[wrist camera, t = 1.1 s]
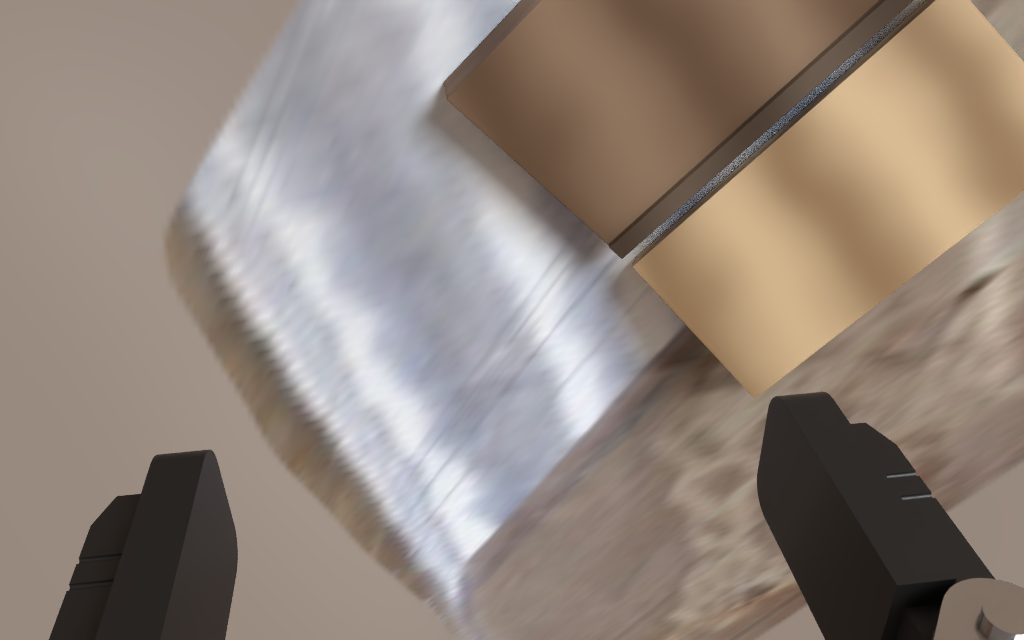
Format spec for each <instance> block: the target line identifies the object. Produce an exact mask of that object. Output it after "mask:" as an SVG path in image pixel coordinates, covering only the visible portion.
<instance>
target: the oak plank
mask: <svg viewBox="0 0 1024 640" xmlns="http://www.w3.org/2000/svg"><path fill="white" fill-rule="evenodd" d="M1023 191H1024V62H1023V61H1022V60H1021V59H1020V57H1019V56H1018V55H1017V54H1016V53H1015V52H1014V51H1013V49H1012V48H1011V47H1010V46H1009V45H1008V44H1007V43H1006V41H1005V40H1004V39H1003V38H1002V37H1001V36H1000V35H999V33H998V32H997V31H996V30H995V29H994V28H993V26H992V25H991V24H990V23H989V22H988V21H987V20H986V18H985V17H984V16H983V15H982V14H981V13H980V12H979V10H978V9H977V8H976V7H975V6H974V5H973V4H972V2H971V1H970V0H927V1H926V2H924V3H923V4H922V5H921V6H920V7H919V8H918V9H917V10H915V11H914V12H913V13H912V14H911V15H910V16H909V17H907V18H906V19H905V20H904V21H903V22H902V23H901V24H900V25H898V26H897V27H896V28H895V29H894V30H893V31H892V32H890V33H889V34H888V35H887V36H886V37H885V38H884V39H883V40H881V41H880V42H879V43H878V44H877V45H876V46H875V47H873V48H872V49H871V50H870V51H869V52H868V53H867V54H866V55H864V56H863V57H862V58H861V59H860V60H859V61H858V62H856V63H855V64H854V65H853V66H852V67H851V68H850V69H849V70H847V71H846V72H845V73H844V74H843V75H842V76H841V77H839V78H838V79H837V80H836V81H835V82H834V83H833V84H832V85H830V86H829V87H828V88H827V89H826V90H825V91H824V92H822V93H821V94H820V95H819V96H818V97H817V98H816V99H814V100H813V101H812V102H811V103H810V104H809V105H808V106H807V107H805V108H804V109H803V110H802V111H801V112H800V113H799V114H797V115H796V116H795V117H794V118H793V119H792V120H791V121H790V122H788V123H787V124H786V125H785V126H784V127H783V128H782V129H780V130H779V131H778V132H777V133H776V134H775V135H774V136H773V137H771V138H770V139H769V140H768V141H767V142H766V143H765V144H763V145H762V146H761V147H760V148H759V149H758V150H757V151H756V152H754V153H753V154H752V155H751V156H750V157H749V158H748V159H746V160H745V161H744V162H743V163H742V164H741V165H740V166H739V167H737V168H736V169H735V170H734V171H733V172H732V173H731V174H729V175H728V176H727V177H726V178H725V179H724V180H723V181H722V182H720V183H719V184H718V185H717V186H716V187H715V188H714V189H712V190H711V191H710V192H709V193H708V194H707V195H706V196H705V197H703V198H702V199H701V200H700V201H699V202H698V203H697V204H695V205H694V206H693V207H692V208H691V209H690V210H689V211H688V212H686V213H685V214H684V215H683V216H682V217H681V218H680V219H678V220H677V221H676V222H675V223H674V224H673V225H672V226H671V227H669V228H668V229H667V230H666V231H665V232H664V233H663V234H661V235H660V236H659V237H658V238H657V239H656V240H655V241H653V242H652V243H651V244H650V245H649V246H648V247H647V248H646V249H644V250H643V251H642V252H641V253H640V254H639V255H638V256H636V257H635V260H634V263H633V268H634V269H635V270H636V271H637V272H638V273H639V275H640V276H641V277H642V278H643V279H644V280H645V281H646V282H647V283H648V284H649V285H650V286H651V287H652V289H653V290H654V291H655V292H656V293H657V294H658V295H659V296H660V297H661V298H662V299H663V300H664V301H665V303H666V304H667V305H668V306H669V307H670V308H671V309H672V310H673V311H674V312H675V313H676V314H677V316H678V317H679V318H680V319H681V320H682V321H683V322H684V323H685V324H686V325H687V326H688V327H689V328H690V330H691V331H692V332H693V333H694V334H695V335H696V336H697V337H698V338H699V339H700V340H701V341H702V342H703V344H704V345H705V346H706V347H707V348H708V349H709V350H710V351H711V352H712V353H713V354H714V355H715V356H716V358H717V359H718V360H719V361H720V362H721V363H722V364H723V365H724V366H725V367H726V368H727V369H728V370H729V372H730V373H731V374H732V375H733V376H734V377H735V378H736V379H737V380H738V381H739V382H740V383H741V384H742V386H743V387H744V388H745V389H746V390H747V391H748V392H749V393H750V394H751V395H752V396H753V397H754V399H755V398H756V397H758V396H759V395H760V394H762V393H763V392H764V391H765V390H767V389H768V388H769V387H771V386H772V385H773V384H774V383H776V382H777V381H778V380H780V379H781V378H782V377H784V376H785V375H786V374H787V373H789V372H790V371H791V370H793V369H794V368H795V367H796V366H798V365H799V364H800V363H802V362H803V361H804V360H806V359H807V358H808V357H809V356H811V355H812V354H813V353H815V352H816V351H817V350H818V349H820V348H821V347H822V346H824V345H825V344H826V343H827V342H829V341H830V340H831V339H833V338H834V337H835V336H837V335H838V334H839V333H840V332H842V331H843V330H844V329H846V328H847V327H848V326H849V325H851V324H852V323H853V322H855V321H856V320H857V319H859V318H860V317H861V316H862V315H864V314H865V313H866V312H868V311H869V310H870V309H871V308H873V307H874V306H875V305H877V304H878V303H879V302H881V301H882V300H883V299H884V298H886V297H887V296H888V295H890V294H891V293H892V292H893V291H895V290H896V289H897V288H899V287H900V286H901V285H903V284H904V283H905V282H906V281H908V280H909V279H910V278H912V277H913V276H914V275H915V274H917V273H918V272H919V271H921V270H922V269H923V268H925V267H926V266H927V265H928V264H930V263H931V262H932V261H934V260H935V259H936V258H937V257H939V256H940V255H941V254H943V253H944V252H945V251H947V250H948V249H949V248H950V247H952V246H953V245H954V244H956V243H957V242H958V241H959V240H961V239H962V238H963V237H965V236H966V235H967V234H968V233H970V232H971V231H972V230H974V229H975V228H976V227H978V226H979V225H980V224H981V223H983V222H984V221H985V220H987V219H988V218H989V217H990V216H992V215H993V214H994V213H996V212H997V211H998V210H1000V209H1001V208H1002V207H1003V206H1005V205H1006V204H1007V203H1009V202H1010V201H1011V200H1012V199H1014V198H1015V197H1016V196H1018V195H1019V194H1020V193H1022V192H1023Z"/></svg>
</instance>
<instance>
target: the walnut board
mask: <svg viewBox="0 0 1024 640" xmlns="http://www.w3.org/2000/svg"><path fill="white" fill-rule="evenodd" d="M912 1H913V0H521V1H520V2H519V3H518V4H517V5H516V6H515V7H514V8H513V10H512V11H511V12H510V13H509V14H508V15H507V16H506V17H505V18H504V19H503V20H502V21H501V22H500V23H499V24H498V25H497V26H496V28H495V29H494V30H493V31H492V32H491V33H490V34H489V35H488V36H487V37H486V38H485V39H484V40H483V41H482V42H481V43H480V44H479V46H478V47H477V48H476V49H475V50H474V51H473V52H472V53H471V54H470V55H469V56H468V57H467V58H466V59H465V60H464V61H463V62H462V64H461V65H460V66H459V67H458V68H457V69H456V70H455V71H454V72H453V73H452V74H451V75H450V76H449V77H448V78H447V79H446V80H445V82H444V85H445V90H446V96H447V100H448V101H449V102H451V103H452V104H453V105H454V106H455V107H456V108H457V109H458V110H459V111H461V112H462V113H463V114H464V115H465V116H466V117H467V118H468V119H469V120H471V121H472V122H473V123H474V124H475V125H476V126H477V127H478V128H479V129H481V130H482V131H483V132H484V133H485V134H486V135H487V136H488V137H489V138H491V139H492V140H493V141H494V142H495V143H496V144H497V145H498V146H499V147H501V148H502V149H503V150H504V151H505V152H506V153H507V154H508V155H509V156H511V157H512V158H513V159H514V160H515V161H516V162H517V163H518V164H519V165H521V166H522V167H523V168H524V169H525V170H526V171H527V172H528V173H529V174H531V175H532V176H533V177H534V178H535V179H536V180H537V181H538V182H539V183H540V184H542V185H543V186H544V187H545V188H546V189H547V190H548V191H549V192H550V193H552V194H553V195H554V196H555V197H556V198H557V199H558V200H559V201H560V202H562V203H563V204H564V205H565V206H566V207H567V208H568V209H569V210H570V211H572V212H573V213H574V214H575V215H576V216H577V217H578V218H579V219H580V220H582V221H583V222H584V223H585V224H586V225H587V226H588V227H589V228H590V229H592V230H593V231H594V232H595V233H596V234H597V235H598V236H599V237H600V238H602V239H603V240H604V241H605V242H606V243H607V244H608V245H609V248H610V249H611V250H613V251H614V252H615V253H616V254H617V255H618V256H619V257H620V258H622V259H623V258H624V257H625V256H626V255H627V254H628V253H629V252H630V251H632V250H633V249H634V248H635V247H636V246H637V245H638V244H639V243H641V242H642V241H643V240H644V239H645V238H646V237H647V236H648V235H650V234H651V233H652V232H653V231H654V230H655V229H656V228H658V227H659V226H660V225H661V224H662V223H663V222H664V221H665V220H667V219H668V218H669V217H670V216H671V215H672V214H673V213H674V212H676V211H677V210H678V209H679V208H680V207H681V206H682V205H683V204H685V203H686V202H687V201H688V200H689V199H690V198H691V197H692V196H694V195H695V194H696V193H697V192H698V191H699V190H700V189H701V188H703V187H704V186H705V185H706V184H707V183H708V182H709V181H710V180H712V179H713V178H714V177H715V176H716V175H717V174H718V173H720V172H721V171H722V170H723V169H724V168H725V167H726V166H727V165H729V164H730V163H731V162H732V161H733V160H734V159H735V158H736V157H738V156H739V155H740V154H741V153H742V152H743V151H744V150H745V149H747V148H748V147H749V146H750V145H751V144H752V143H753V142H754V141H756V140H757V139H758V138H759V137H760V136H761V135H762V134H763V133H765V132H766V131H767V130H768V129H769V128H770V127H771V126H773V125H774V124H775V123H776V122H777V121H778V120H779V119H780V118H782V117H783V116H784V115H785V114H786V113H787V112H788V111H789V110H791V109H792V108H793V107H794V106H795V105H796V104H797V103H798V102H800V101H801V100H802V99H803V98H804V97H805V96H806V95H807V94H809V93H810V92H811V91H812V90H813V89H814V88H815V87H816V86H818V85H819V84H820V83H821V82H822V81H823V80H824V79H826V78H827V77H828V76H829V75H830V74H831V73H832V72H833V71H835V70H836V69H837V68H838V67H839V66H840V65H841V64H842V63H844V62H845V61H846V60H847V59H848V58H849V57H850V56H851V55H853V54H854V53H855V52H856V51H857V50H858V49H859V48H860V47H862V46H863V45H864V44H865V43H866V42H867V41H868V40H869V39H871V38H872V37H873V36H874V35H875V34H876V33H877V32H879V31H880V30H881V29H882V28H883V27H884V26H885V25H886V24H888V23H889V22H890V21H891V20H892V19H893V18H894V17H895V16H897V15H898V14H899V13H900V12H901V11H902V10H903V9H904V8H906V7H907V6H908V5H909V4H910V3H911V2H912Z"/></svg>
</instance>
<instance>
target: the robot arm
mask: <svg viewBox="0 0 1024 640" xmlns="http://www.w3.org/2000/svg"><path fill="white" fill-rule="evenodd" d="M757 489H758V497H759V502H760V506H761V509H762V512H763V515H764V517H765V519H766V521H767V523H768V525H769V527H770V529H771V531H772V533H773V535H774V537H775V539H776V541H777V543H778V545H779V547H780V549H781V551H782V553H783V555H784V557H785V559H786V561H787V563H788V565H789V567H790V569H791V571H792V573H793V575H794V578H795V580H796V582H797V584H798V586H799V588H800V590H801V592H802V594H803V596H804V598H805V600H806V602H807V604H808V606H809V608H810V610H811V612H812V613H813V616H814V618H815V620H816V622H817V624H818V626H819V628H820V630H821V632H822V634H823V636H824V638H825V640H1024V588H1022V587H1019V586H1017V585H1014V584H1012V583H1008V582H1005V581H1001V580H996V579H995V578H994V577H993V576H992V574H991V573H990V572H989V570H988V569H987V568H986V566H985V565H984V564H983V562H982V561H981V559H980V558H979V557H978V555H977V554H976V553H975V551H974V550H973V548H972V547H971V546H970V544H969V543H968V542H967V540H966V539H965V538H964V536H963V535H962V533H961V532H960V531H959V529H958V528H957V527H956V525H955V524H954V523H953V521H952V520H951V519H950V517H949V516H948V514H947V513H946V512H945V510H944V509H943V508H942V506H941V505H940V504H939V502H938V501H937V499H936V498H932V496H931V491H930V490H929V489H928V487H927V486H926V484H925V483H924V482H923V480H922V479H921V478H920V476H916V474H915V470H914V468H913V467H912V465H911V464H910V463H909V461H908V460H907V459H906V457H905V456H904V455H903V453H902V452H901V450H900V449H899V448H898V446H897V445H896V444H895V443H893V442H892V441H891V440H889V439H888V438H886V437H885V436H883V435H882V434H881V433H879V432H878V431H876V430H875V429H874V428H872V427H871V426H869V425H868V424H867V423H857V424H850V423H849V421H848V420H847V418H846V417H845V415H844V414H843V413H842V411H841V410H840V408H839V407H838V405H837V404H836V402H835V401H834V400H833V398H832V397H831V396H830V395H829V394H828V393H826V392H816V393H806V394H796V395H785V396H776V397H774V398H773V399H772V400H771V402H770V404H769V408H768V413H767V419H766V425H765V431H764V437H763V443H762V449H761V455H760V461H759V467H758V474H757ZM237 552H238V551H237V538H236V531H235V526H234V522H233V519H232V515H231V511H230V507H229V503H228V499H227V496H226V492H225V488H224V484H223V481H222V477H221V474H220V469H219V466H218V462H217V459H216V456H215V454H214V452H213V451H212V450H202V451H192V452H181V453H171V454H161V455H156V456H155V457H154V458H153V460H152V462H151V464H150V467H149V471H148V474H147V477H146V480H145V484H144V486H143V490H142V493H141V494H135V495H125V496H117V497H116V498H115V499H114V500H113V501H112V502H111V504H110V505H109V506H108V507H107V508H106V509H105V510H104V512H103V513H102V514H101V515H100V516H99V517H98V518H97V519H96V521H95V522H94V523H93V524H92V525H91V527H90V530H89V532H88V535H87V537H86V541H85V543H84V546H83V549H82V551H81V554H80V557H79V564H77V565H76V567H75V570H74V573H73V576H72V578H71V581H70V584H69V585H70V590H69V591H67V592H66V595H65V598H64V600H63V603H62V606H61V608H60V611H59V614H58V616H57V619H56V622H55V625H54V627H53V630H52V633H51V636H50V638H49V640H225V637H226V631H227V625H228V618H229V613H230V607H231V602H232V596H233V590H234V584H235V578H236V572H237V560H238V553H237Z"/></svg>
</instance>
